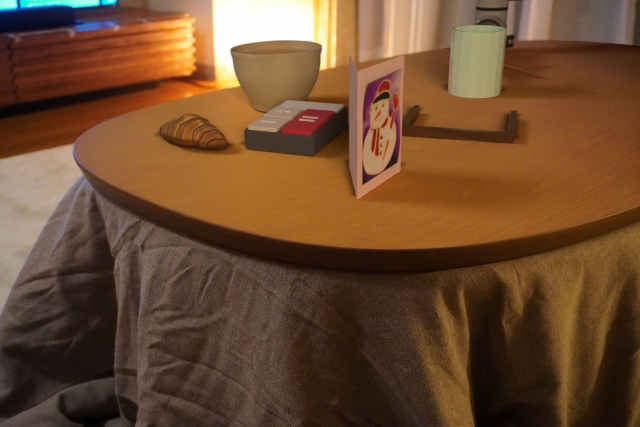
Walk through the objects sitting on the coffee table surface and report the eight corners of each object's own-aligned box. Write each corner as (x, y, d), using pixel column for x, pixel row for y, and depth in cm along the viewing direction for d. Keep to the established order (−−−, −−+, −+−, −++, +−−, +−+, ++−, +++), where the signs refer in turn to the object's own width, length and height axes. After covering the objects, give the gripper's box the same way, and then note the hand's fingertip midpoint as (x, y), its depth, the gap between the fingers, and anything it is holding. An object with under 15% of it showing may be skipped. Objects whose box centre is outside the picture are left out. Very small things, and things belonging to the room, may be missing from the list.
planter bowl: (311, 94, 122) (310, 37, 118) (332, 114, 108) (332, 50, 103) (230, 100, 119) (225, 42, 114) (240, 122, 104) (235, 56, 100)
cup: (511, 94, 118) (518, 29, 113) (466, 100, 115) (471, 33, 110) (480, 84, 126) (485, 23, 122) (437, 89, 123) (441, 27, 118)
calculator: (242, 125, 89) (285, 96, 102) (244, 153, 91) (287, 121, 104) (312, 131, 86) (348, 101, 98) (313, 160, 88) (349, 127, 100)
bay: (413, 113, 107) (414, 104, 107) (516, 119, 102) (517, 110, 102) (398, 135, 96) (399, 126, 95) (513, 143, 91) (514, 133, 90)
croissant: (145, 143, 95) (140, 111, 93) (178, 132, 100) (174, 102, 98) (208, 159, 87) (205, 124, 85) (241, 146, 92) (238, 113, 90)
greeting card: (363, 201, 72) (364, 72, 66) (310, 189, 76) (307, 66, 70) (406, 171, 81) (410, 55, 75) (356, 162, 85) (357, 50, 79)
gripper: (514, 52, 142) (510, 72, 122) (456, 50, 146) (442, 70, 126) (518, 18, 139) (514, 33, 119) (459, 17, 143) (445, 32, 123)
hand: (477, 52), depth 122 cm, fingers closed
